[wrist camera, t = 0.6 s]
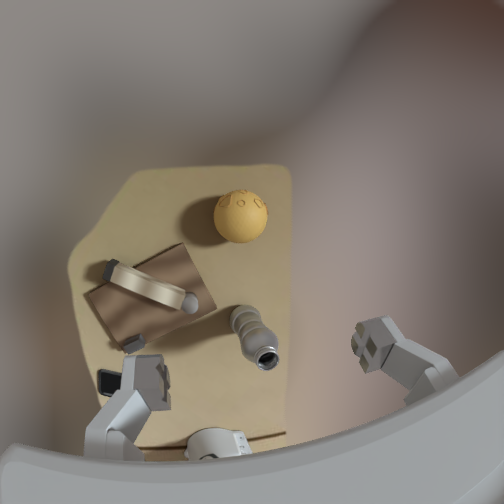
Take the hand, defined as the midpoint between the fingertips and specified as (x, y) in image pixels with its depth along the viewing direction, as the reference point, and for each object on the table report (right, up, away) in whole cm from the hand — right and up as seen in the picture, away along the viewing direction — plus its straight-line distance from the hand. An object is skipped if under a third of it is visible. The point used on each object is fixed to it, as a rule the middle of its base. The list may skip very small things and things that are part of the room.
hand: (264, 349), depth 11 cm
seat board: (-21, -6, +45) cm, 51 cm away
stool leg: (-20, -3, +43) cm, 47 cm away
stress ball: (-4, +11, +47) cm, 48 cm away
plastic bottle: (-3, -10, +51) cm, 52 cm away
